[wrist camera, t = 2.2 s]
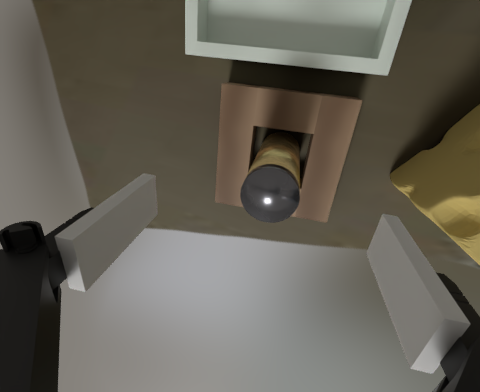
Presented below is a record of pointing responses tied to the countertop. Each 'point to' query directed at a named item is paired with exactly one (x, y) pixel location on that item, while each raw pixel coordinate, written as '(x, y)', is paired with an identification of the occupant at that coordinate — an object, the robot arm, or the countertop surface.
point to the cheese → (449, 183)
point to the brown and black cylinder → (273, 179)
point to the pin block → (292, 119)
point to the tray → (298, 32)
